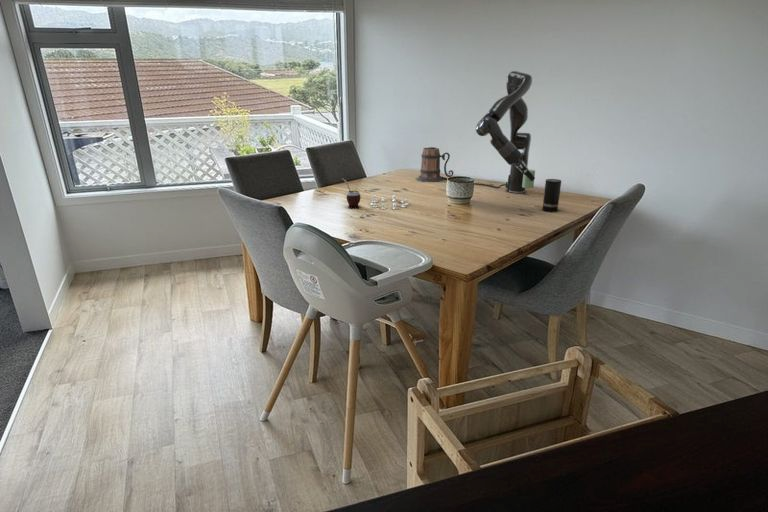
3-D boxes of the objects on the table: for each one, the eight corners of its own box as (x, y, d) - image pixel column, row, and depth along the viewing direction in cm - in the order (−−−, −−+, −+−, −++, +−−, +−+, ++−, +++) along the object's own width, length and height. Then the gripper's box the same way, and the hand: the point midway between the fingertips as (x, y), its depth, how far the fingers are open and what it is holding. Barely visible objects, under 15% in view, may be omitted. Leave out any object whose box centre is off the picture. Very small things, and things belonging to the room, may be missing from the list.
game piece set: (384, 198, 259) (384, 191, 258) (415, 203, 248) (415, 196, 247) (362, 205, 244) (362, 198, 243) (394, 211, 233) (394, 203, 232)
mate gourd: (363, 207, 241) (363, 177, 235) (352, 210, 235) (351, 179, 230) (353, 204, 245) (352, 175, 240) (342, 207, 240) (341, 177, 235)
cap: (520, 187, 227) (522, 170, 224) (524, 185, 231) (526, 168, 228) (530, 188, 224) (532, 171, 221) (535, 186, 228) (536, 170, 225)
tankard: (414, 180, 304) (414, 149, 297) (420, 176, 319) (421, 146, 312) (450, 183, 297) (452, 151, 290) (455, 178, 312) (456, 147, 305)
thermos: (539, 210, 235) (543, 180, 230) (545, 207, 241) (548, 178, 236) (554, 212, 231) (558, 182, 226) (559, 209, 237) (563, 179, 231)
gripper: (517, 148, 215) (541, 176, 218) (514, 144, 229) (537, 170, 231) (503, 160, 218) (528, 187, 220) (501, 155, 231) (524, 180, 234)
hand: (532, 178), depth 226 cm, fingers closed on cap, 5 cm apart
